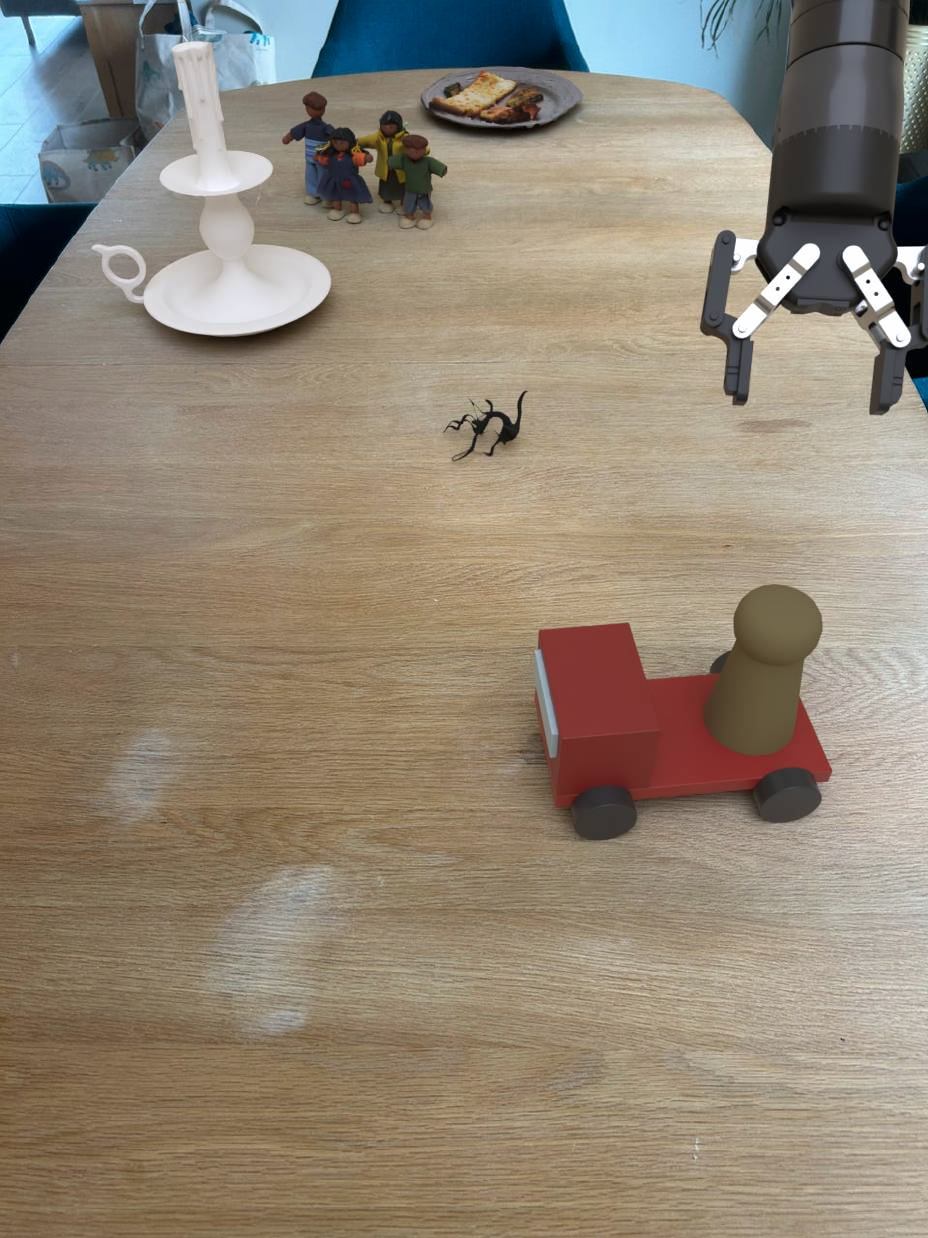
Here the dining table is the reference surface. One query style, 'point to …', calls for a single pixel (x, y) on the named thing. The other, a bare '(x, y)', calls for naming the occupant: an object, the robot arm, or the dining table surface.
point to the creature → (506, 434)
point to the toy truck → (650, 736)
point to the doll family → (340, 158)
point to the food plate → (501, 97)
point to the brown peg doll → (763, 670)
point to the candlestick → (221, 232)
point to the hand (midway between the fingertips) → (809, 408)
